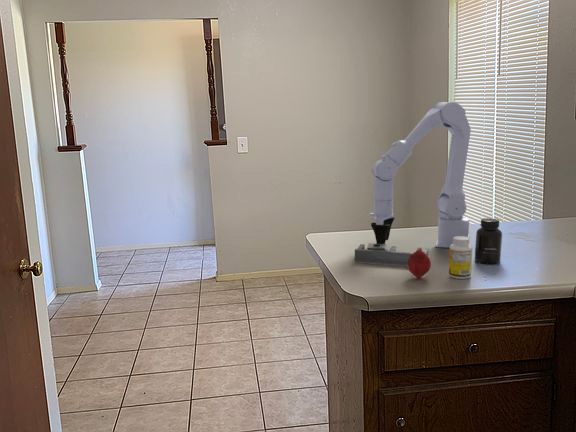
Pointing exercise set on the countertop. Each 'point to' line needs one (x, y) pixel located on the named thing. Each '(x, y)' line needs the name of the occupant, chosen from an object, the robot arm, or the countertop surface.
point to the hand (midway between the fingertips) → (382, 242)
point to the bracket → (383, 256)
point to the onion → (419, 263)
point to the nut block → (376, 246)
